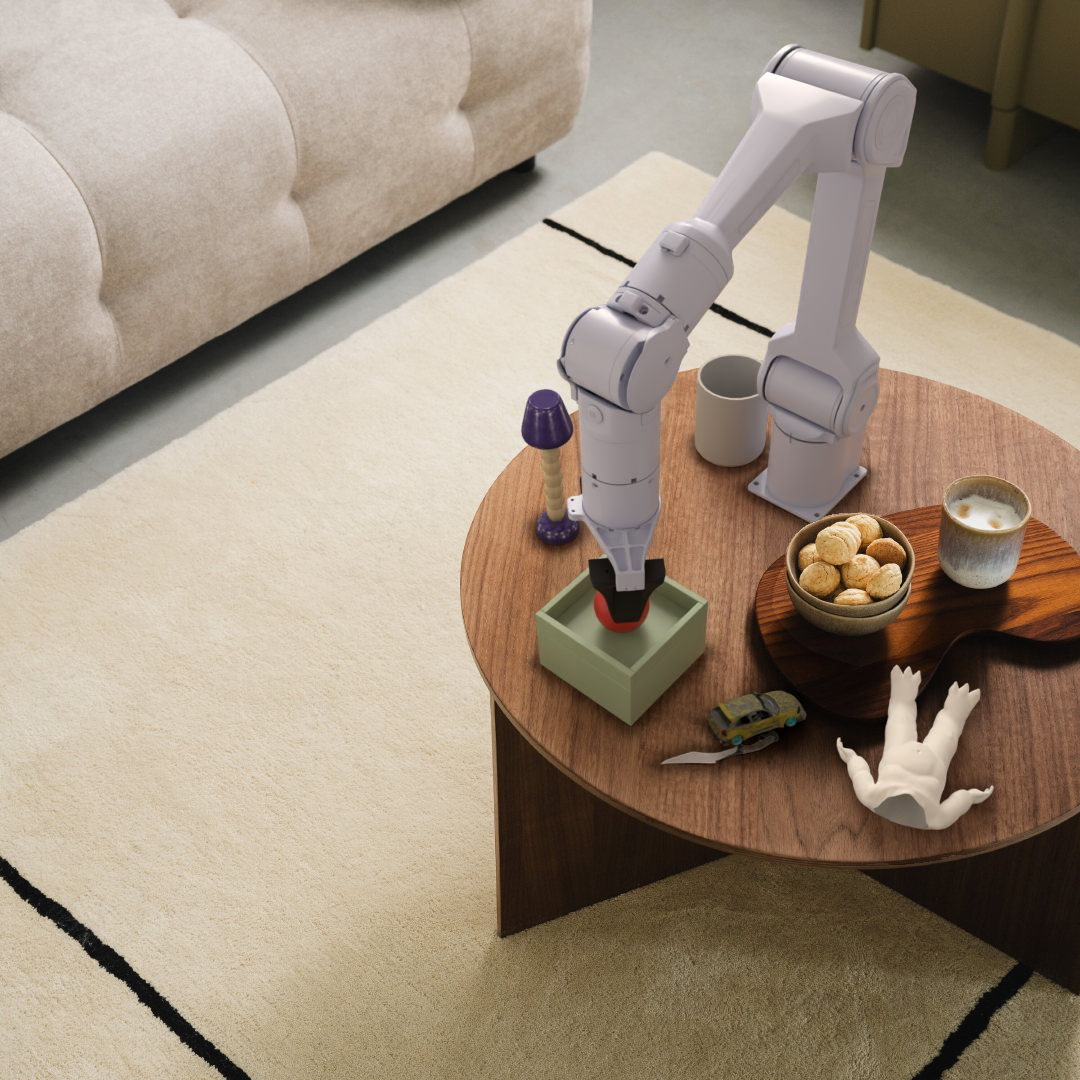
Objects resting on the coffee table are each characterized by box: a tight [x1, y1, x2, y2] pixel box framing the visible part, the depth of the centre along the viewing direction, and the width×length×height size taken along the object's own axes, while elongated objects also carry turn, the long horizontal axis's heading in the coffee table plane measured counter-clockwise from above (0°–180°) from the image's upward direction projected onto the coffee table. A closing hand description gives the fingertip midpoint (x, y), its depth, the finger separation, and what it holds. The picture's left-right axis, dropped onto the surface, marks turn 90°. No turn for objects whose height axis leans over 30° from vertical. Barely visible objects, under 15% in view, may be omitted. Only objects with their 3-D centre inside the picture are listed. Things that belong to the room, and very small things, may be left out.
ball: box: [594, 591, 650, 633], centre depth 95 cm, size 5×5×5 cm
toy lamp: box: [520, 388, 581, 546], centre depth 105 cm, size 5×5×17 cm
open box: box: [534, 553, 709, 727], centre depth 98 cm, size 10×10×7 cm
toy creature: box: [836, 664, 995, 831], centre depth 89 cm, size 12×6×12 cm
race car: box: [706, 690, 807, 747], centre depth 94 cm, size 4×8×2 cm, turn 110°
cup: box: [694, 353, 769, 468], centre depth 116 cm, size 7×10×9 cm
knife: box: [660, 729, 779, 765], centre depth 93 cm, size 10×2×1 cm, turn 107°
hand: (621, 582), depth 93 cm, fingers open, 7 cm apart
